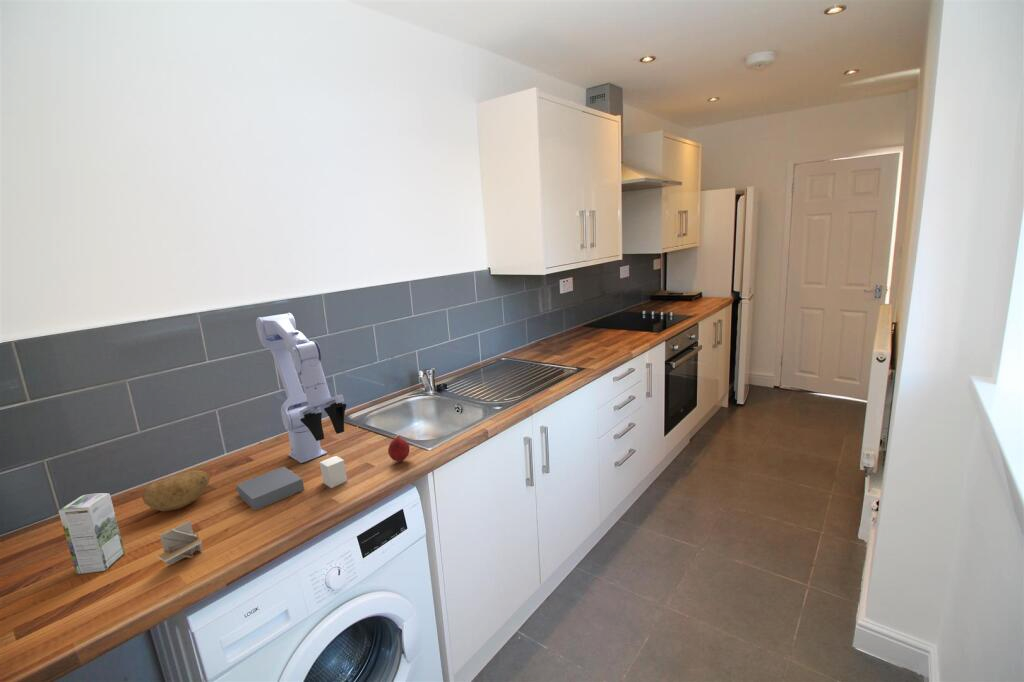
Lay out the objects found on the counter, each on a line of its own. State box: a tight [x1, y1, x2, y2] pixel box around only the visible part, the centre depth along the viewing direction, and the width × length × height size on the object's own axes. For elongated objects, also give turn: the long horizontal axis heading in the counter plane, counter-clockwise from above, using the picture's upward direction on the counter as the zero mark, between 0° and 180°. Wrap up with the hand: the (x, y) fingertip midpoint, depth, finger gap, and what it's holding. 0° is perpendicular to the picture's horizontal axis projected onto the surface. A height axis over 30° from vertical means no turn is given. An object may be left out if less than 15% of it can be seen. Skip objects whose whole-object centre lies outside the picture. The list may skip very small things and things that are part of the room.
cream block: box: [319, 455, 348, 489], centre depth 125 cm, size 4×4×6 cm
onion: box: [387, 434, 410, 463], centre depth 133 cm, size 6×6×8 cm
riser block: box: [235, 465, 305, 511], centre depth 122 cm, size 12×12×3 cm
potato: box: [142, 470, 211, 512], centre depth 119 cm, size 10×14×8 cm
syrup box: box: [58, 492, 125, 575], centre depth 97 cm, size 6×6×14 cm
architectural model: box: [157, 520, 203, 567], centre depth 96 cm, size 3×7×7 cm, turn 148°
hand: (330, 436), depth 124 cm, fingers open, 7 cm apart
